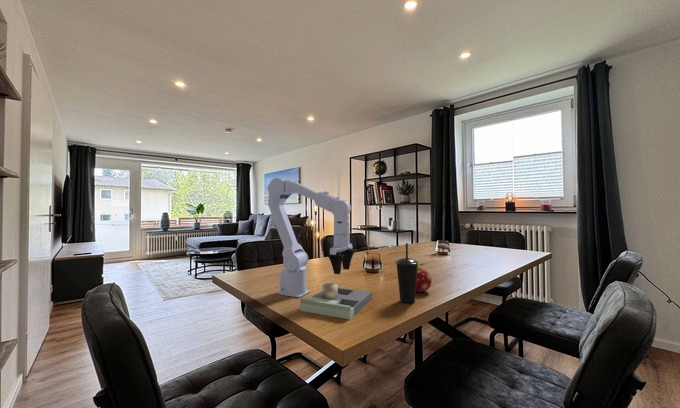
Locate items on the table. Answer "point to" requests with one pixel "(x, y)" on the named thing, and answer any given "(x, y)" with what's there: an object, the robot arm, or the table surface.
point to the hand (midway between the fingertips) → (341, 271)
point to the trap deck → (337, 303)
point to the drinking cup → (407, 278)
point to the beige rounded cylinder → (330, 291)
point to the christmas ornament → (422, 280)
